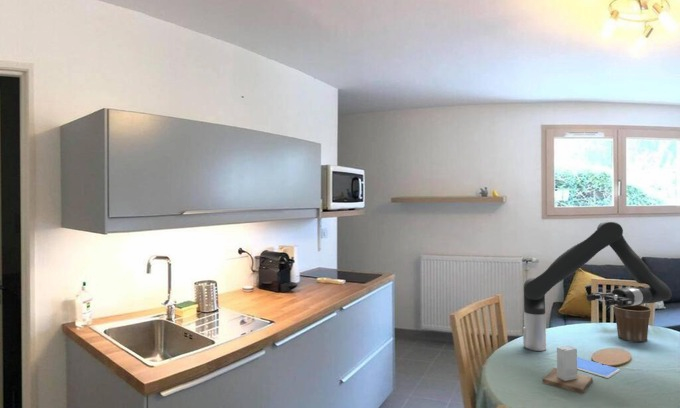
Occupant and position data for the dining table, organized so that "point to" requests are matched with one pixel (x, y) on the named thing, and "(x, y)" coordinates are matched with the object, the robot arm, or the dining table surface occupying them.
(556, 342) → the dining table surface
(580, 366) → the tablet computer
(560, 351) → the skincare box
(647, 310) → the plant pot
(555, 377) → the walnut board
